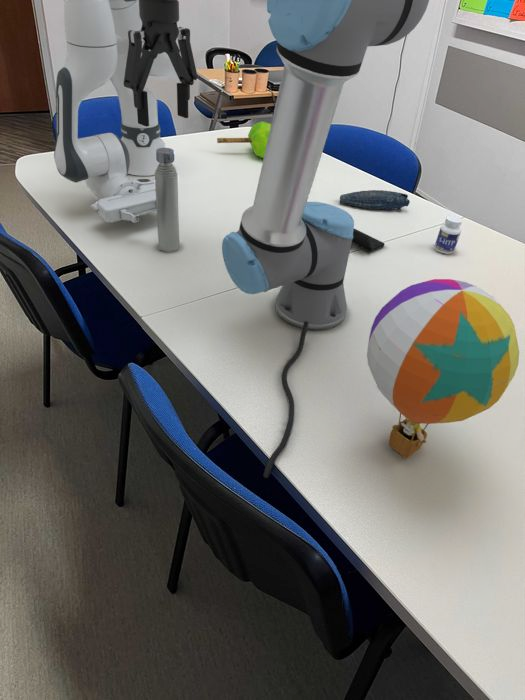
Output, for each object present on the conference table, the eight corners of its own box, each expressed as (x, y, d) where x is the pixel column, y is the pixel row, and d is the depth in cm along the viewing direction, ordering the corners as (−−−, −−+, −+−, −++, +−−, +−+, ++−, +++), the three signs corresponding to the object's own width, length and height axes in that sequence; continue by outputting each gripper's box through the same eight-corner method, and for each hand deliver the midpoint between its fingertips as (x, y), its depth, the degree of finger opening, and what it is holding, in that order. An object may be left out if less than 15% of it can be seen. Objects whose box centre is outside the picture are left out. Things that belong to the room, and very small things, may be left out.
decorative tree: (214, 118, 187) (294, 118, 193) (214, 147, 194) (292, 146, 199) (220, 132, 174) (307, 132, 179) (220, 164, 180) (304, 162, 185)
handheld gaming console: (388, 238, 139) (380, 215, 131) (377, 260, 138) (367, 239, 130) (351, 229, 145) (341, 207, 137) (340, 251, 144) (328, 230, 136)
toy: (318, 439, 84) (351, 278, 65) (393, 389, 94) (440, 239, 76) (417, 524, 73) (492, 360, 54) (489, 457, 83) (573, 301, 65)
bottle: (159, 252, 128) (154, 156, 113) (157, 242, 132) (152, 148, 117) (180, 251, 129) (178, 156, 114) (178, 241, 133) (175, 148, 118)
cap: (157, 164, 115) (156, 153, 113) (155, 157, 118) (154, 147, 116) (175, 163, 116) (175, 153, 114) (173, 157, 119) (172, 147, 117)
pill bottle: (433, 251, 139) (442, 220, 133) (435, 243, 143) (444, 213, 137) (453, 256, 138) (464, 225, 132) (454, 247, 142) (465, 217, 136)
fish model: (408, 214, 157) (412, 198, 153) (339, 207, 158) (341, 191, 154) (406, 206, 162) (410, 190, 159) (339, 199, 163) (341, 183, 160)
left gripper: (86, 192, 130) (114, 212, 122) (156, 177, 141) (186, 194, 134) (89, 216, 134) (117, 236, 126) (157, 199, 145) (186, 217, 137)
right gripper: (121, 0, 89) (131, 134, 103) (215, -2, 103) (214, 116, 117) (94, -6, 92) (108, 124, 106) (189, -7, 106) (191, 108, 120)
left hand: (153, 215), depth 130 cm, fingers open, 8 cm apart
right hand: (163, 120), depth 111 cm, fingers open, 10 cm apart
